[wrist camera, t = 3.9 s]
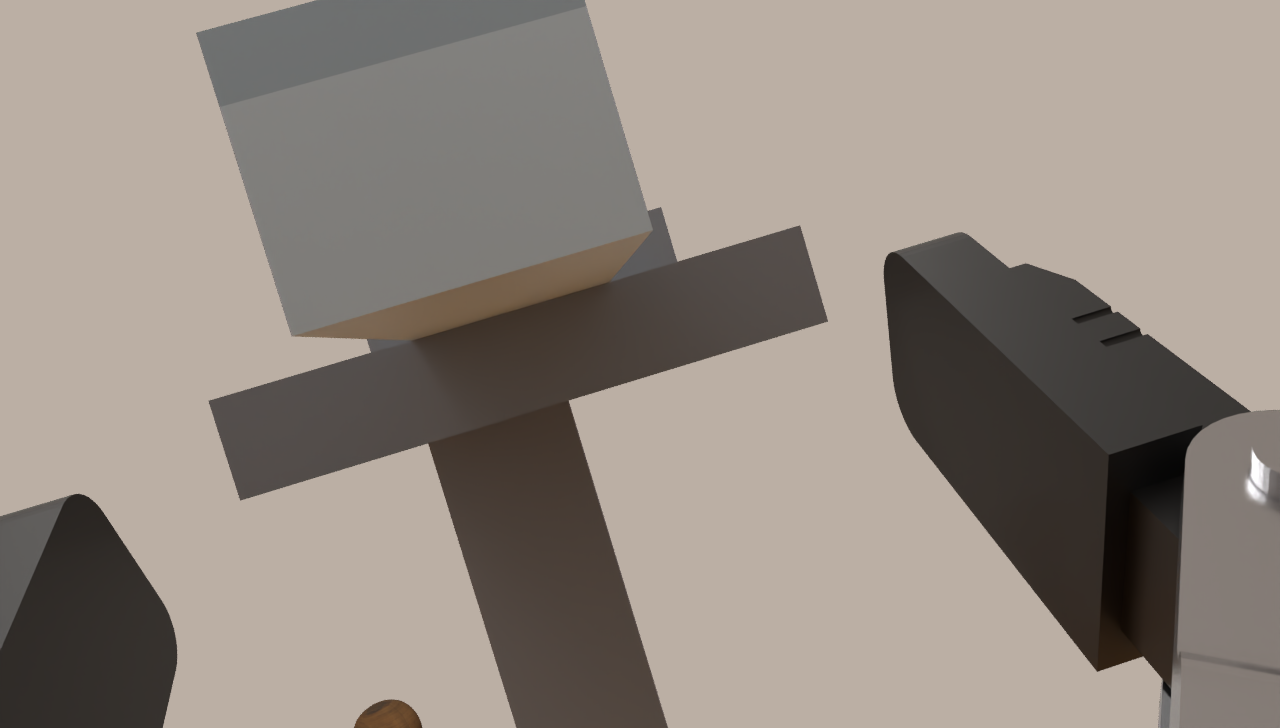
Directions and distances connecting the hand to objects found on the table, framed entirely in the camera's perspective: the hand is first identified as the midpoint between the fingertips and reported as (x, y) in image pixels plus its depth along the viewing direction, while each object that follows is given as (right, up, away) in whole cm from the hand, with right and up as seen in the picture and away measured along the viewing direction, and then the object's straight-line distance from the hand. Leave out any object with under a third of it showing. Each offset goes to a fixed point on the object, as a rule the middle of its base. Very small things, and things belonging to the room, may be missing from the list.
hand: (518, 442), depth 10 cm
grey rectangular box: (-1, +2, +13) cm, 13 cm away
